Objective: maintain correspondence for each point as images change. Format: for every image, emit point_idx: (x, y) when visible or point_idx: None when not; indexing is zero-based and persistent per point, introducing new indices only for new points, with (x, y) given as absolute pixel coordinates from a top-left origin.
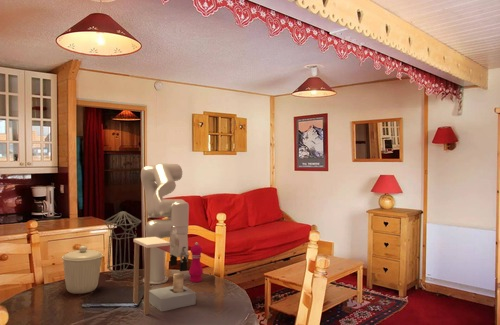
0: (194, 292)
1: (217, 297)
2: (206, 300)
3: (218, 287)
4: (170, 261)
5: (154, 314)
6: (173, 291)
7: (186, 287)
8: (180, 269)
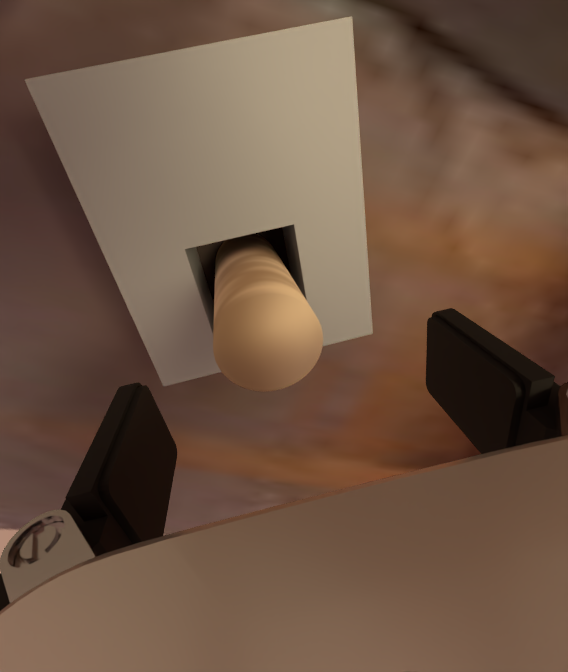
0: (170, 379)
1: (242, 453)
2: (216, 405)
3: (370, 475)
4: (476, 338)
5: (11, 20)
6: (243, 249)
7: None
8: (112, 403)
